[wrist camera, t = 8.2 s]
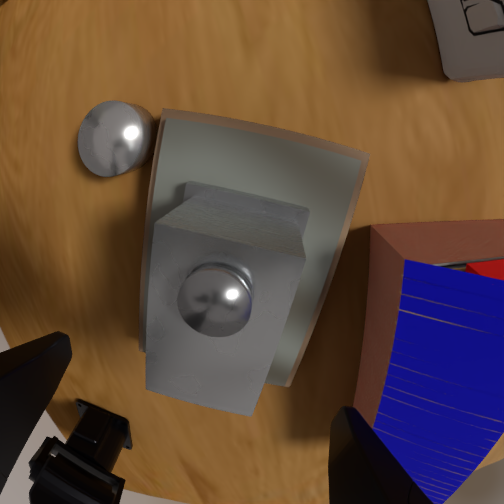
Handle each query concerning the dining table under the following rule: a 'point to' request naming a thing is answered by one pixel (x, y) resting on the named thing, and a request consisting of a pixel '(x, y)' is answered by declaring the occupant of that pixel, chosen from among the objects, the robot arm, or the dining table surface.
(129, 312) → the dining table surface
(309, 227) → the stand
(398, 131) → the dining table surface
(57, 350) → the robot arm
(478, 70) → the electrical switch
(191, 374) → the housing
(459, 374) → the house
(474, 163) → the dining table surface
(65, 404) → the dining table surface
